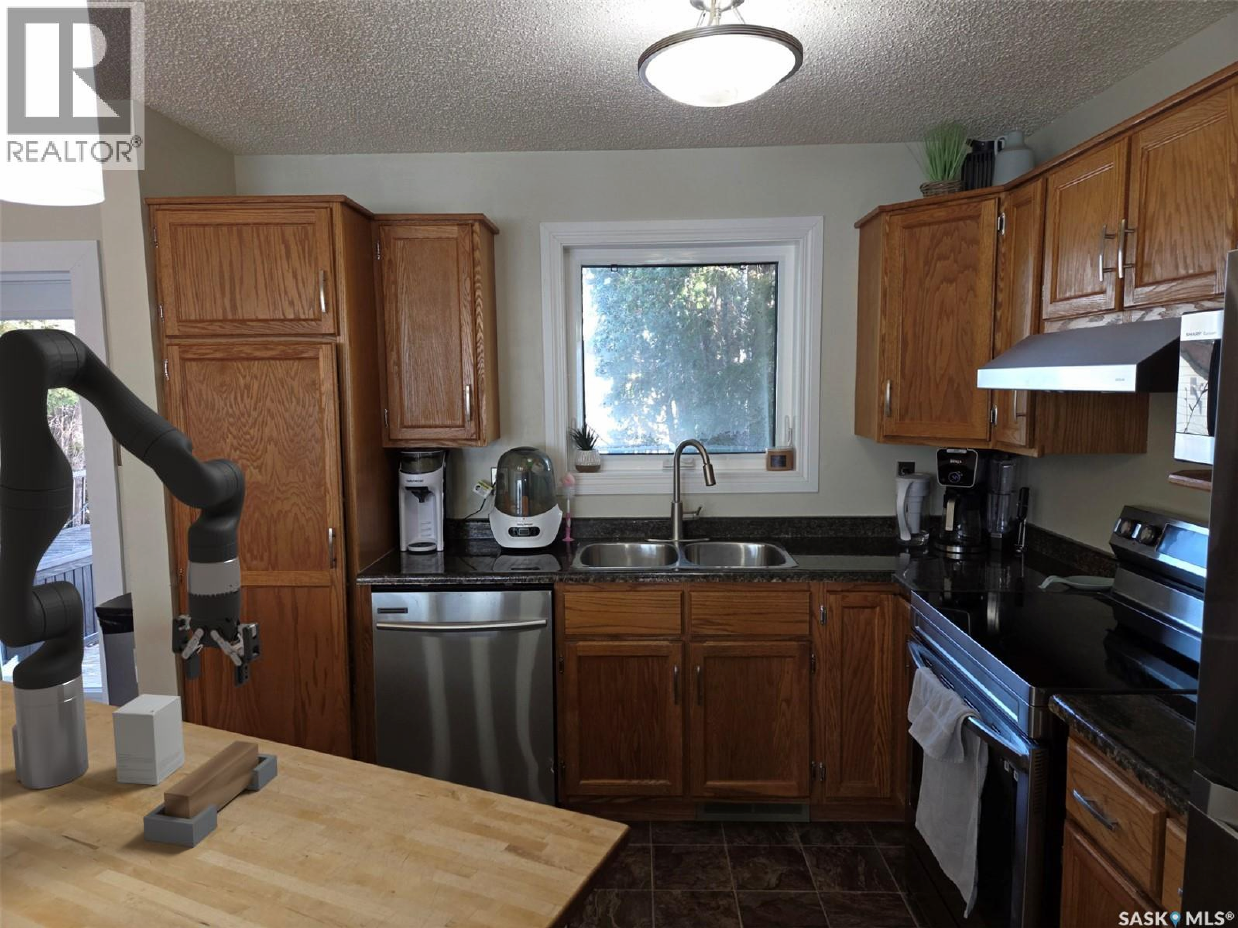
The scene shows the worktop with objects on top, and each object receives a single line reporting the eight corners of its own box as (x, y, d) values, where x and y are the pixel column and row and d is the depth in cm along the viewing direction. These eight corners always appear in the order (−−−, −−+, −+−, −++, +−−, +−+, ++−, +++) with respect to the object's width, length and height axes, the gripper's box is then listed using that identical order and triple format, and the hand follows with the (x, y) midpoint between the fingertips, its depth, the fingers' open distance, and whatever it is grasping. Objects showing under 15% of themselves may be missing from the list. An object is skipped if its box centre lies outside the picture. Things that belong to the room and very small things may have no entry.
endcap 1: (144, 839, 112) (143, 817, 111) (170, 819, 117) (168, 798, 116) (193, 847, 110) (192, 824, 110) (217, 826, 115) (216, 804, 115)
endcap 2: (277, 774, 130) (276, 755, 129) (259, 790, 125) (258, 770, 125) (234, 769, 131) (233, 749, 131) (214, 784, 126) (213, 764, 126)
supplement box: (186, 763, 133) (182, 695, 131) (156, 786, 126) (152, 714, 124) (147, 760, 134) (143, 692, 132) (115, 782, 126) (110, 711, 125)
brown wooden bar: (165, 829, 113) (163, 792, 113) (237, 773, 129) (235, 740, 128) (190, 833, 113) (188, 795, 112) (259, 776, 128) (258, 743, 127)
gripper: (156, 587, 117) (160, 686, 119) (238, 596, 115) (241, 697, 117) (191, 574, 124) (195, 667, 127) (269, 582, 122) (271, 677, 124)
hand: (217, 681), depth 122 cm, fingers open, 8 cm apart
